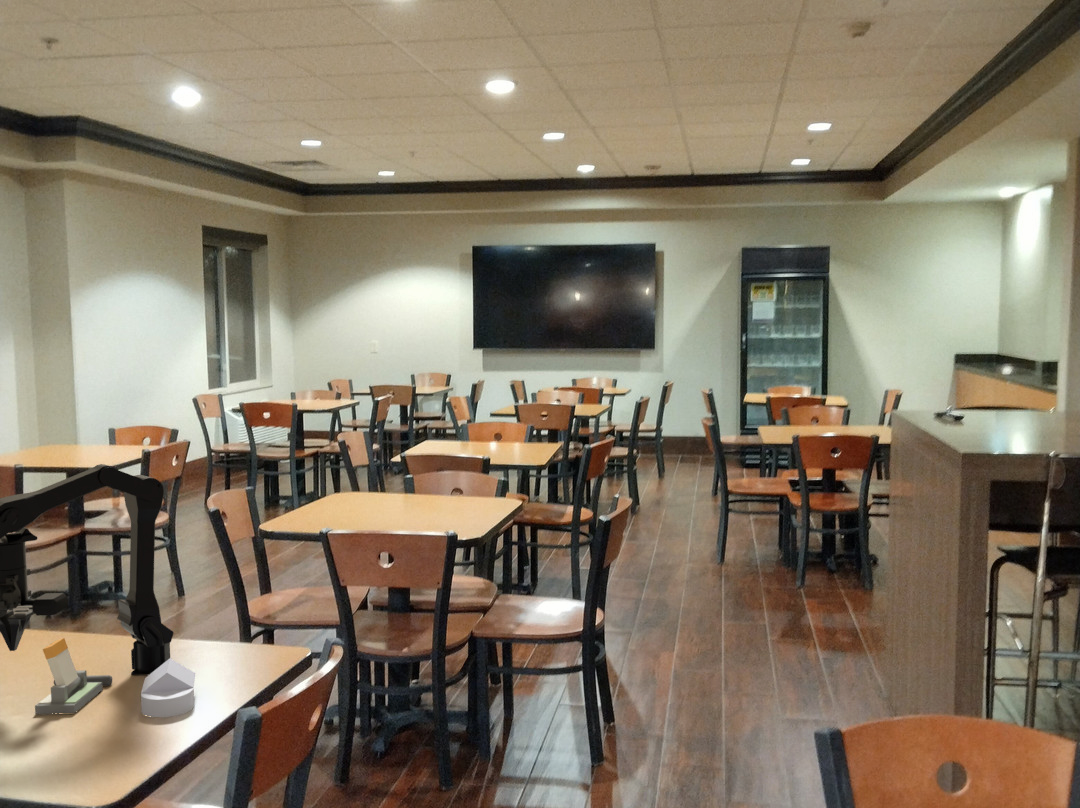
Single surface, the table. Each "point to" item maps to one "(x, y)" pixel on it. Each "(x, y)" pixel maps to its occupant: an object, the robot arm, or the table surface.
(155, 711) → the wedge on round base
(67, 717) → the table surface
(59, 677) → the lever
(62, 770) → the table surface
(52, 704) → the panel
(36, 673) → the table surface
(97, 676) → the grey double capsule
